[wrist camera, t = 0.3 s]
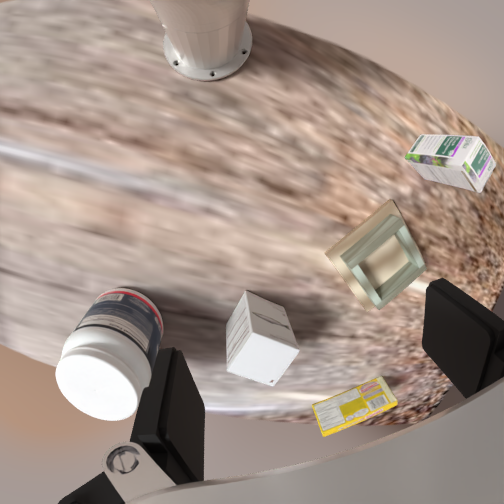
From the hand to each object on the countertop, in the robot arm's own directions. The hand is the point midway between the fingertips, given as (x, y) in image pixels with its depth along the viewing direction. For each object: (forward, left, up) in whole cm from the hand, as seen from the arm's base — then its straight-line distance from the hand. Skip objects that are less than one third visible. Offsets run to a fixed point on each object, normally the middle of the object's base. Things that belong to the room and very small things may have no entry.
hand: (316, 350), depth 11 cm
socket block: (+13, +20, -36) cm, 44 cm away
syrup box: (-3, +30, -36) cm, 48 cm away
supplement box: (+19, -2, -36) cm, 41 cm away
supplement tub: (+16, -23, -36) cm, 46 cm away
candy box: (+43, +15, -36) cm, 58 cm away
